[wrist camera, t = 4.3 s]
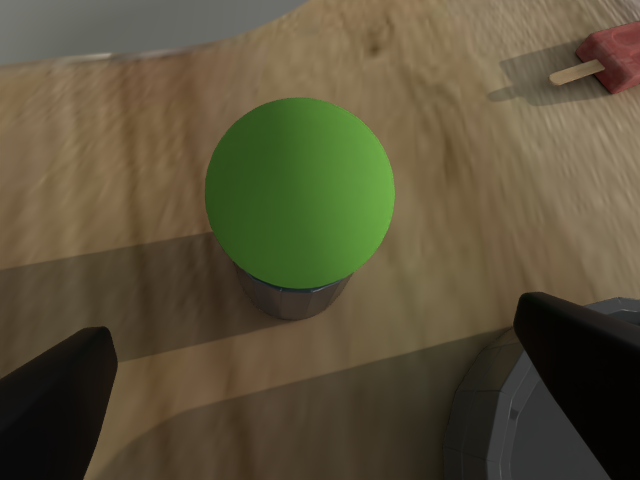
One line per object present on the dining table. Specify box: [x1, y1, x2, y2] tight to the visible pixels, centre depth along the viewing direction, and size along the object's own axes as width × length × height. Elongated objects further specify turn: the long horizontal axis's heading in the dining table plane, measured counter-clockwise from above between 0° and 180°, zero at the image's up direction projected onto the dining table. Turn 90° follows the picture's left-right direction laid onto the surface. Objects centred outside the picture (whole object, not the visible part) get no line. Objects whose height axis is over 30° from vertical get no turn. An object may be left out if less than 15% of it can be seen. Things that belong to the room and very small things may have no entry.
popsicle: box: [548, 21, 640, 94], centre depth 28 cm, size 4×2×15 cm
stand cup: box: [233, 261, 354, 320], centre depth 18 cm, size 6×6×6 cm
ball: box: [205, 98, 395, 289], centre depth 13 cm, size 6×6×6 cm
